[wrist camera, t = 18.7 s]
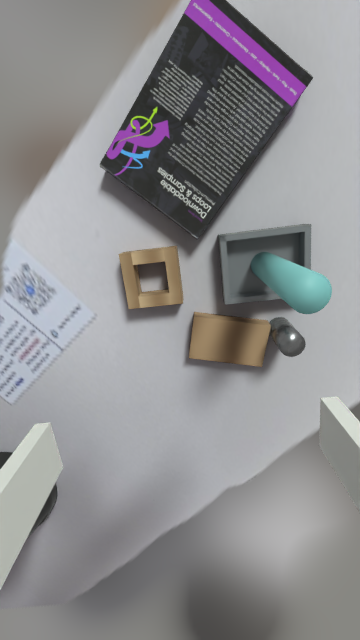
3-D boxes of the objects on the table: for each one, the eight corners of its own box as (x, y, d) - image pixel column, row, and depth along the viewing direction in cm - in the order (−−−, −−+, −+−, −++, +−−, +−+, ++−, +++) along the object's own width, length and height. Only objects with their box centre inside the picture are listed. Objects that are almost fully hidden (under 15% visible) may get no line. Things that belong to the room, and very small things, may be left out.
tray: (223, 299, 40) (225, 304, 37) (218, 234, 37) (219, 235, 35) (302, 291, 39) (310, 295, 36) (303, 224, 36) (311, 224, 34)
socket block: (132, 304, 41) (128, 309, 38) (123, 252, 38) (118, 254, 36) (183, 298, 40) (182, 303, 38) (177, 245, 38) (175, 247, 35)
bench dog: (268, 338, 41) (279, 357, 36) (267, 318, 40) (279, 334, 35) (290, 336, 41) (305, 355, 35) (289, 316, 40) (305, 331, 34)
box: (202, 2, 31) (104, 169, 36) (203, -26, 28) (95, 163, 33) (303, 92, 33) (196, 240, 38) (315, 76, 29) (196, 241, 34)
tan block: (189, 350, 43) (188, 358, 41) (194, 311, 41) (194, 316, 39) (258, 358, 43) (261, 366, 40) (266, 319, 41) (270, 325, 38)
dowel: (250, 253, 37) (287, 275, 22) (276, 250, 37) (332, 270, 22) (251, 278, 38) (288, 315, 23) (276, 275, 38) (330, 311, 23)
